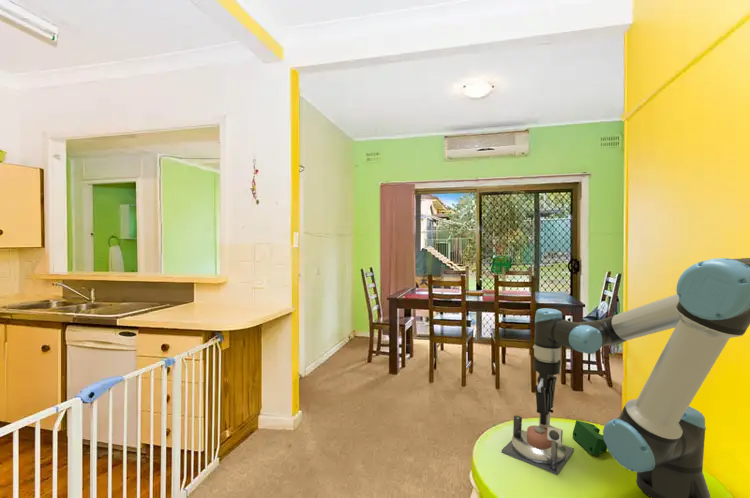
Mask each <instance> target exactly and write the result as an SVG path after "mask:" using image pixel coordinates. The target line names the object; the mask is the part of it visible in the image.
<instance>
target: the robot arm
mask: <svg viewBox="0 0 750 498" xmlns="http://www.w3.org/2000/svg"><path fill="white" fill-rule="evenodd" d="M675 291H676V293H675V294H673V295H669V296H667V297H664V298H662V299H658V300H656V301H652V302H649V303H646V304H643V305H640V306H638V307H635V308H632V309H630V310H629V309H628V310H626V311H623V312H620V313H618V314H614V315H611V316H608V317H606V318H605V317H604V318H602V319H597V320H590V321H587V320H586V321H579V322H575V321H571V320H567V319H564V318H563V313H562V311H560V310H558V309H555V308H547V307H546V308H545V307H544V308H543V307H542V308H539V309H537V310H536V311H535V317H534V341H533V342H534V344H533V346H532V348H533V351H534V354H533V355H534V356H533V357H534V358H533V370H534V371H535V372H537V373H538V376H537V383H538V384H535V386H534V390H535V400H536V402H535V403H536V413H538V414H539V421H538V423H539V424H538V426H542V427H544V428H547V429H548V426H549V425H550V426H551V414H553V413H554V410H553V408H554V398H555V391H556V382H557V376H556V375H559V374H560V373H561V359H562V357H561V356H562V355H561V353H562V352H561V351H562V349H561V348H562V346H563V347H566V348H568V349H571V350H573V351H576V352H579V353H585V354H587V355H588V354H589V355H594V354H596V353H597V351H599V350H600V349H601V347H606V346H616V345H621V344H623V343H625V342H627V341H630V340H633V339H637V338H641V337H646V336H648V335H649V336H650V335H652V334H656V333H660V332H664V331H668V330H671V329H673V331H672V333H671V335H670V337H669V339H668V340H667V342H666V344H665V345H664V348H663V350H662V352H661V354H660V355H659V357H658V359H657V361H656V362H655V365H654V366H653V369H652V370H651V373H650V374H649V377H648V378H647V379H646V381H645V383H644V386H643V387H642V389H641V391H640V393H639V395H638V397H637V398H636V399H635V398H633V399H630V400H627V402H625V404H624V406H623V408H622V410H621V413H620V414H619V416H618V417H617V418H612V419H610V420H608V421H607V422H606V423H605V424H604V426H603V430H602V435H603V438H604V442H605V443H606V445H607V450H608V452H609V454H610V455H611V456H612V457H613V459H614V460H615V461H616V462H617V463H619V465H621V466H622V467H623V468H625V469H626V470H629V471H631V472H635V473H636V481H635V482H636V484H637V487H639V489H640V490H641V491H642V493H644V494H645V495H646V494H647V495H646V496H648V495H649V496H650V497H652V498H711V494H710V491H709V488H708V484H707V482H706V479H705V475H704V473H703V472H704V471H703V466H704V456H705V455H704V452H705V440H706V439H705V437H706V430H707V427H706V418H705V416H704V414H703V413H702V412H701V411H699V410H698V409H696V408H694V407H692V406H690V404H691V403H692V402H693V399H694V398H695V397H696V395H697V393H698V392H699V390H700V388H701V386H702V385H703V383H705V382H704V381H705V380H706V378H707V377H708V375H709V373H710V372H711V370H712V368H713V367H714V365H715V363H716V361H717V360H718V358H719V357H720V355H721V354H722V352H723V350H724V348H725V347H726V345H727V344H728V342H729V340H730V339H732V338H737V337H743V336H744V334H745V333H746V331H747V330H748V328H749V327H750V257H745V258H744V257H742V258H728V257H727V258H725V257H721V258H720V257H719V258H711V259H706V260H703V261H699V262H697V263H694V264H692V265H691V266H688V267H687V269H685V270H684V271H683V272H682V273H681V274H680V276H679V278H678V280H677V283H676V289H675ZM649 496H648V497H649ZM650 497H649V498H650Z"/></svg>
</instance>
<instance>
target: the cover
mask: <svg viewBox="0 0 750 498" xmlns="http://www.w3.org/2000/svg"><path fill="white" fill-rule="evenodd" d="M526 431H527V442H528V443H529V444H530V445H531V446H533V447H536V448H540V449H548V448H550V447H551V440H548V439H547V432H548V429H547V428H544V427H542V426H539V425H529V426H527V429H526Z"/></svg>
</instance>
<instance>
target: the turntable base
mask: <svg viewBox="0 0 750 498" xmlns="http://www.w3.org/2000/svg"><path fill="white" fill-rule="evenodd" d="M522 431H524V430H523V429H521V432H522ZM563 431H564V430H563V429H562V428H559V427H556V426H553V425H551V424H550V425H549V426H548V432H547V439H548V440H551V464H545V463H539V462H535V461H532V460H529V459H527V458H525V457H523V456H521V455H520V454H518V453H517V452H516V451H515V450H514V449H513V446H512V439H511V440H510V441H509V442H508V443H507V444H506V445H505V446H504V447H503V448H502V449H501V453H502V454H503V455H507V456H510V457H512V458H514V459H517V460H519V461H522V462H524V463H527V464H529V465H532V466H534V467H536V468H538V469H541V470H544V471H546V472H548V473H550V474H553V475H556V476H558V475H559V474H560V472H561V471H562V469H563V468H564V467H565V465H566V464H567V463H568V460H569V459H570V458H571V456H572V455H573V453H574V452H575V448H573V447H572V446H571V447H570V446H568V445H566V444H563V433H564V432H563ZM558 443H560V444H561V443H562V444H563V445H564V446H565V448H566V456H565V459H564V460H563V461H561V462H559V463H557V449H558Z"/></svg>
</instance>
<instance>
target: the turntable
mask: <svg viewBox="0 0 750 498" xmlns="http://www.w3.org/2000/svg"><path fill="white" fill-rule="evenodd" d="M522 422H523V417H522V416H521V415H514V416H513V427H512V428H513V429H512V430H513V432H512V434H513V435H512V438H511V440H512V446H513V449H514V450H515V451H516V452H517V453H518V454H520V455H521V456H523V457H525V458H527V459H529V460H532V461H535V462H539V463H545V464H551V447H550V448H548V449H540V448H536V447H533V446H531V445H530V444H529V443H528V442H527V430H523V429H522V425H523V423H522ZM522 430H523V431H522ZM521 431H522V432H521ZM564 445H565V444H564V443H563V442H562V443H561V444H560V443H558V449H557V463H559V462H561V461H563V460H564V459H565V456H566V448H565V446H566V445H565V446H564Z"/></svg>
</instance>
